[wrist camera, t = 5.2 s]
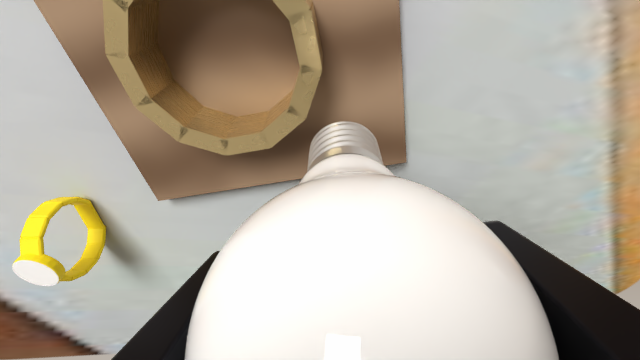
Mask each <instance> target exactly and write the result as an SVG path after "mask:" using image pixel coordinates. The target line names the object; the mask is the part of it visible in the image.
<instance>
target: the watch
mask: <svg viewBox="0 0 640 360" xmlns="http://www.w3.org/2000/svg"><path fill="white" fill-rule="evenodd" d="M68 204H71V205H74V207H75V208H76V210H77V212H78V213H79V215H80V216H81V218H82V220H83V221H84V223H85V225H86V226H87V228H88V237H87V245H86V247H85V250H84V252H83V254H82V257H81V259H80V260H79V261H78V262H77V263H76V264H75V265H74V266H73V267H72V268H71V269H70V270H69V271H66V272H65V268H64V267H63V265H62V264H61V263H60V262H59V261H57V260H56V259H54V258H52V257H50V256H48V255H45V254H44V243H43V237H44V234H45V232H46V229H47V226H48V223H49V221H50V219H51V218H52V217H53V216H54V215H55V214H56V213H57V212H58V210H59V209H60V208H61V207H62V206H65V205H68ZM20 237H21V239H20V253H21V256H20V257H19V258H17V259H16V260H15V261H14V263H13V265H12V268H13V271H14V272H15V273H16V275H18V276H19V277H20V278H22V279H24V280H25V281H27V282H30V283H33V284H36V285H41V286H52V285H55V284H57V283H58V282H59V281H72V280H75V279H77V278H79V277H81V276H84V275H85V274H86V273H88V272H89V271H90V269H91V268H92V267H93V266H94V265H95V264H96V263H97V262H98V260H99V258H100V256H101V253H102V251H103V248H104V246H105V238H106V225H105V226H104V224H103V222H102V220H101V219H100V217H99V215H98V214H97V212H96V210H95V208H94V207H93V205H92V203H91V201H90V200H87V199H83V198H80V197H59V198H56V199H52V200H49V201H46V202H44V203H42V204H41V205H40V206H39V207H38V208H37V209H36V210H35V211H34V212H33V213H31V214H30V215H29V218H27V221H26V223H25V226H24V228H23V231H22V233H21V236H20Z"/></svg>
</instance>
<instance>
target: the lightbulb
mask: <svg viewBox="0 0 640 360" xmlns="http://www.w3.org/2000/svg"><path fill="white" fill-rule="evenodd" d="M185 360H559V355H558V351H557V346H556V343H555V339H554V336H553V332H552V329H551V326H550V323H549V320H548V318H547V315H546V313H545V310H544V308H543V305H542V303H541V301H540V299H539V297H538V295H537V293H536V291H535V289H534V287H533V285H532V283H531V281H530V280H529V278H528V276H527V275H526V273H525V271H524V270H523V268H522V267H521V265H520V264H519V262H518V261H517V260H516V258H515V257H514V256H513V254H512V253H511V252H510V250H509V249H508V248H507V247H506V246H505V244H504V243H503V242H502V241H501V240H500V239H499V238H498V237H497V235H496V234H495V233H494V232H493V231H492V230H491V229H490V228H489V227H487V226H486V225H485V224H484V223H483V222H482V221H481V220H480V219H478V218H477V217H476V216H475V215H474V214H472V213H471V212H470V211H468V210H467V209H466V208H464V207H463V206H461V205H460V204H458V203H457V202H455V201H454V200H452V199H450V198H448V197H447V196H445V195H443V194H441V193H439V192H437V191H435V190H433V189H431V188H429V187H426V186H424V185H421V184H419V183H416V182H413V181H410V180H407V179H403V178H400V177H396V176H394V174H393V173H392V172H391V171H390V170H389V169H388V168H387V167H385V166H384V165H383V161H382V157H381V154H380V150H379V146H378V143H377V140H376V138H375V137H374V135H373V134H372V133H371V132H370V130H368V129H367V128H366V127H364V126H363V125H360V124H358V123H355V122H349V121H341V122H335V123H332V124H329V125H327V126H325V127H324V128H322V129H321V130H320V131H319V132H318V133H317V134H316V135H315V136H314V138H313V140H312V142H311V145H310V149H309V158H308V170H307V173H306V174H305V175H304V177H303V178H302V179H301V181H300V183H299V184H298V185H297V186H294V187H292V188H290V189H288V190H286V191H285V192H283V193H281V194H279V195H278V196H276V197H274V198H273V199H271V200H270V201H268V202H267V203H265V204H264V205H263V206H261V207H260V208H259V209H258V210H256V211H255V212H254V213H253V214H252V215H251V216H249V217H248V218H247V219H246V220H245V221H244V222H243V223H242V224H241V225H240V226H239V227H238V228H237V230H236V231H235V232H234V233H233V234H232V236H231V237H230V238H229V239H228V240H227V242H226V243H225V245H224V246H223V247H222V249H221V250H220V252H219V253H218V255H217V257H216V258H215V260H214V261H213V263H212V265H211V267H210V269H209V271H208V273H207V275H206V277H205V279H204V281H203V283H202V286H201V288H200V290H199V293H198V296H197V299H196V302H195V305H194V308H193V311H192V315H191V319H190V324H189V328H188V334H187V340H186V348H185Z"/></svg>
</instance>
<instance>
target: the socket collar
mask: <svg viewBox="0 0 640 360" xmlns="http://www.w3.org/2000/svg"><path fill="white" fill-rule="evenodd" d="M159 1H160V0H103V16H104V36H105V54H108V55H106V56H107V58H108V60H109V62H110V64H111V65H112V67H113V69H114V71H115V72H116V74H117V76H118V78H119V80H120V81H121V83H122V85H123V87H124V89H125V90H126V92H127V94H128V96H129V98H130V99H131V101H132V103H133V105H134V107H135V106H137V107H136V109H138V110H139V111H140V112H141V113H143V114H144V115H145V116H146V117H148V118H149V119H150V120H151V121H153V122H154V123H155V124H156V125H158V126H159V127H160V128H161V129H163V130H164V131H165V132H166V133H168V134H169V135H170V136H171V137H173V138H174V139H175V140H176V141H179V142H180V143H183V144H187V145H190V146H194V147H197V148H201V149H204V150H208V151H211V152H215V153H218V154H222V155H227V156H228V155H234V154H240V153H246V152H251V151H257V150H263V149H269V148H272V147H273V146H274V145H275V144H277V143H278V142H279V141H280V140H281V139H283V138H284V137H285V136H286V135H287V134H289V133H290V132H291V131H292V130H293V129H295V128H296V127H297V126H298V125H300V124H301V123H302V122H303V121H304V120H305V119H306V117H307V114H308V112H309V109H310V106H311V103H312V100H313V97H314V94H315V91H316V88H317V85H318V82H319V79H320V76H321V73H322V63H323V53H322V48H321V42H320V37H319V31H318V26H317V20H316V15H315V9H314V4H313V3H312V2H313V1H312V0H273V2H274V3H275V4H276V5H277V6H278V8H279V9H280V10H281V11H282V12H283V14H284V15H285V16H286V17H287V18H288V20H289V21H290V26H291V30H292V35H293V39H294V43H295V48H296V52H297V57H298V61H299V66H300V69H299V72H298V75H297V79H296V82H295V86H294V89H293V90H292V91H291V92H289V93H288V94H287V95H286V96H285V97H284V98H283V99H282V100H281V101H279V102H278V103H277V104H276V105H275V106H274V107H273V108H272V109H271V110H269V111H265V112H260V113H254V114H249V115H243V116H238V117H237V116H234V115H230V114H227V113H224V112H221V111H218V110H214V109H211V108H208V107H205V106H203V105H202V104H201V103H200V102H198V101H197V100H196V99H195V98H194V97H193V96H192V95H191V94H190V93H188V92H187V91H186V90H185V89H184V88H183V87H182V86H181V85H179V84H178V83H177V82H176V81H175V80H174V78H173V75H172V73H171V71H170V69H169V67H168V64H167V62H166V60H165V58H164V56H163V53H162V51H161V49H160V47H159V45H158V22H159Z"/></svg>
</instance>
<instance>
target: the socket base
mask: <svg viewBox="0 0 640 360" xmlns="http://www.w3.org/2000/svg"><path fill="white" fill-rule="evenodd" d="M312 1H313V2H312V3H313V4H314V9H315V15H316V20H317V26H318V31H319V37H320V42H321V48H322V53H323V63H322V73H321V76H320V79H319V82H318V85H317V88H316V91H315V94H314V97H313V100H312V103H311V106H310V109H309V112H308V114H307V117H306V119H305V120H304V121H303V122H302V123H301V124H300V125H298V126H297V127H296V128H295V129H293V130H292V131H291V132H290V133H289V134H287V135H286V136H285V137H284V138H283V139H281V140H280V141H279V142H278V143H277V144H275V145H274V146H273V147H272V148H269V149H263V150H257V151H251V152H246V153H240V154H234V155H228V156H227V155H222V154H218V153H215V152H211V151H208V150H204V149H201V148H197V147H194V146H190V145H187V144H183V143H180V142H179V141H176V140H175V139H174V138H173V137H171V136H170V135H169V134H168V133H166V132H165V131H164V130H163V129H161V128H160V127H159V126H158V125H156V124H155V123H154V122H153V121H151V120H150V119H149V118H148V117H146V116H145V115H144V114H143V113H141V112H140V111H139V110H138V109H136V107H137V106H135V107H134V105H133V103H132V101H131V99H130V98H129V96H128V94H127V92H126V90H125V89H124V87H123V85H122V83H121V81H120V80H119V78H118V76H117V74H116V72H115V71H114V69H113V67H112V65H111V64H110V62H109V60H108V58H107V56H106V55H108V54H105V36H104V16H103V0H34V2H35V3H36V5H37V6H38V8H39V10H40V11H41V13H42V14H43V16H44V18H45V19H46V21H47V22H48V24H49V26H50V27H51V29H52V31H53V32H54V34H55V35H56V37H57V39H58V40H59V42H60V43H61V45H62V47H63V48H64V50H65V51H66V53H67V55H68V56H69V58H70V59H71V61H72V63H73V64H74V66H75V67H76V69H77V71H78V72H79V74H80V76H81V77H82V79H83V80H84V82H85V84H86V85H87V87H88V88H89V90H90V92H91V93H92V95H93V96H94V98H95V100H96V101H97V103H98V104H99V106H100V108H101V109H102V111H103V113H104V114H105V116H106V117H107V119H108V121H109V122H110V124H111V125H112V127H113V129H114V130H115V132H116V133H117V135H118V137H119V138H120V140H121V141H122V143H123V145H124V146H125V148H126V149H127V151H128V153H129V154H130V156H131V158H132V159H133V161H134V162H135V164H136V166H137V167H138V169H139V170H140V172H141V174H142V175H143V177H144V178H145V180H146V182H147V183H148V185H149V186H150V188H151V190H152V191H153V193H154V194H155V196H156V198H157V199H158V201H160V200H167V199H173V198H180V197H186V196H193V195H199V194H206V193H212V192H218V191H225V190H231V189H238V188H244V187H251V186H257V185H263V184H270V183H276V182H283V181H289V180H296V179H302V178H303V177H304V175H305V174H306V173H307V170H308V158H309V149H310V145H311V142H312V140H313V138H314V136H315V135H316V134H317V133H318V132H319V131H320V130H321V129H322V128H324V127H325V126H327V125H329V124H332V123H335V122H341V121H349V122H355V123H358V124H360V125H363V126H364V127H366V128H367V129H368V130H370V132H371V133H372V134H373V135H374V137H375V138H376V140H377V143H378V146H379V150H380V154H381V157H382V161H383V165H384V166H386V165H392V164H399V163H405V162H406V143H405V121H404V99H403V76H402V54H401V32H400V10H399V0H312ZM158 45H159V47H160V49H161V51H162V53H163V56H164V58H165V60H166V62H167V64H168V67H169V69H170V71H171V73H172V75H173V78H174V80H175V81H176V82H177V83H178V84H179V85H181V86H182V87H183V88H184V89H185V90H186V91H187V92H188V93H190V94H191V95H192V96H193V97H194V98H195V99H196V100H197V101H198V102H200V103H201V104H202V105H203V106H205V107H208V108H211V109H214V110H218V111H221V112H224V113H227V114H230V115H234V116H237V117H238V116H243V115H249V114H254V113H260V112H265V111H269V110H271V109H272V108H273V107H274V106H275V105H276V104H277V103H278V102H279V101H281V100H282V99H283V98H284V97H285V96H286V95H287V94H288V93H289V92H291V91H292V90H293V89H294V86H295V82H296V79H297V75H298V72H299V69H300V66H299V61H298V57H297V52H296V48H295V43H294V39H293V35H292V30H291V26H290V21H289V20H288V18H287V17H286V16H285V15H284V14H283V12H282V11H281V10H280V9H279V8H278V6H277V5H276V4H275V3H274V2H273V0H160V1H159V22H158Z"/></svg>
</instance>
